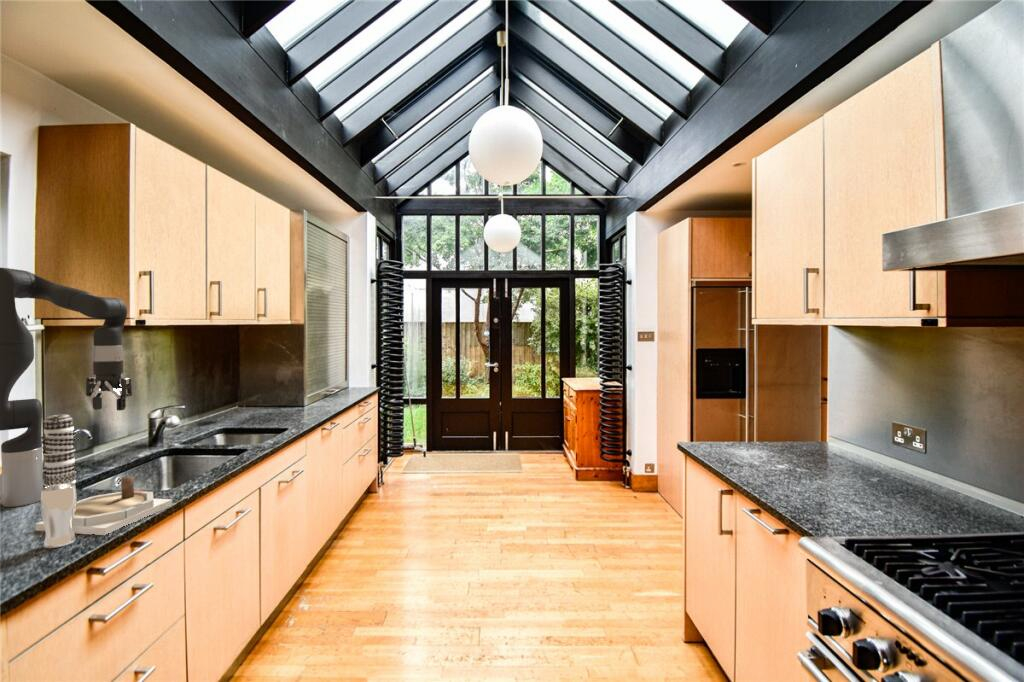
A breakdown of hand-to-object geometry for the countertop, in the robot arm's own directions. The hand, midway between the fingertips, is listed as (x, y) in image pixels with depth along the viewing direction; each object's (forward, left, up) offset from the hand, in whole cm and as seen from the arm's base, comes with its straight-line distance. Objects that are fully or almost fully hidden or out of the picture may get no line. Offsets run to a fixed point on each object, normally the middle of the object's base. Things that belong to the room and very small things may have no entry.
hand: (109, 409), depth 155 cm
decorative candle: (-35, +13, -30) cm, 48 cm away
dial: (+11, -11, -28) cm, 32 cm away
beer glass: (+15, -28, -30) cm, 44 cm away
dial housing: (+11, -11, -30) cm, 34 cm away
